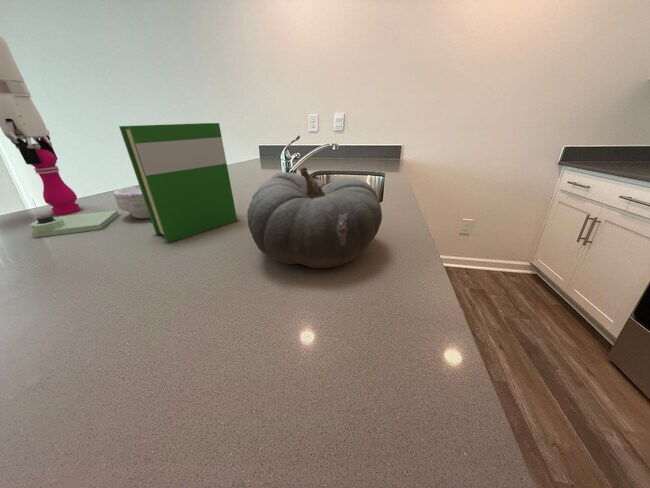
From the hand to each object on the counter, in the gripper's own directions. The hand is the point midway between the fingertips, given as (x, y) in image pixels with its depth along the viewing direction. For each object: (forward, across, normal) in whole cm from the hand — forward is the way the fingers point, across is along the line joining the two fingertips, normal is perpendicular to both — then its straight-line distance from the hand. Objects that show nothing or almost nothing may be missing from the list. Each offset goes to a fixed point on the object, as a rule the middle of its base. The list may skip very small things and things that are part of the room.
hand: (43, 161), depth 74 cm
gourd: (+15, +53, +66) cm, 86 cm away
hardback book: (+15, +30, +41) cm, 53 cm away
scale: (+15, +16, +10) cm, 24 cm away
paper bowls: (+15, +13, +27) cm, 34 cm away
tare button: (+13, +20, +5) cm, 24 cm away
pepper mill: (+15, 0, 0) cm, 15 cm away
